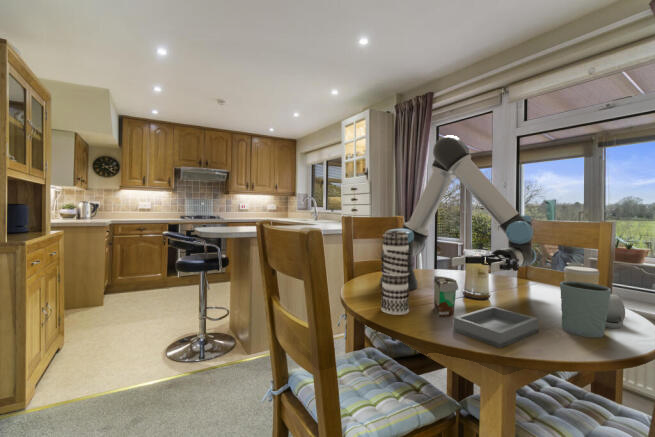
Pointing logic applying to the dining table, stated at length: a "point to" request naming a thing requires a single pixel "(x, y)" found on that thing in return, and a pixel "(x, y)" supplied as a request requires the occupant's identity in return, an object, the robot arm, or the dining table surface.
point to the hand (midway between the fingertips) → (471, 264)
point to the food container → (444, 295)
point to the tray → (496, 326)
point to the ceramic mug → (615, 312)
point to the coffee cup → (581, 274)
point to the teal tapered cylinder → (584, 308)
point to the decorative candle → (395, 272)
